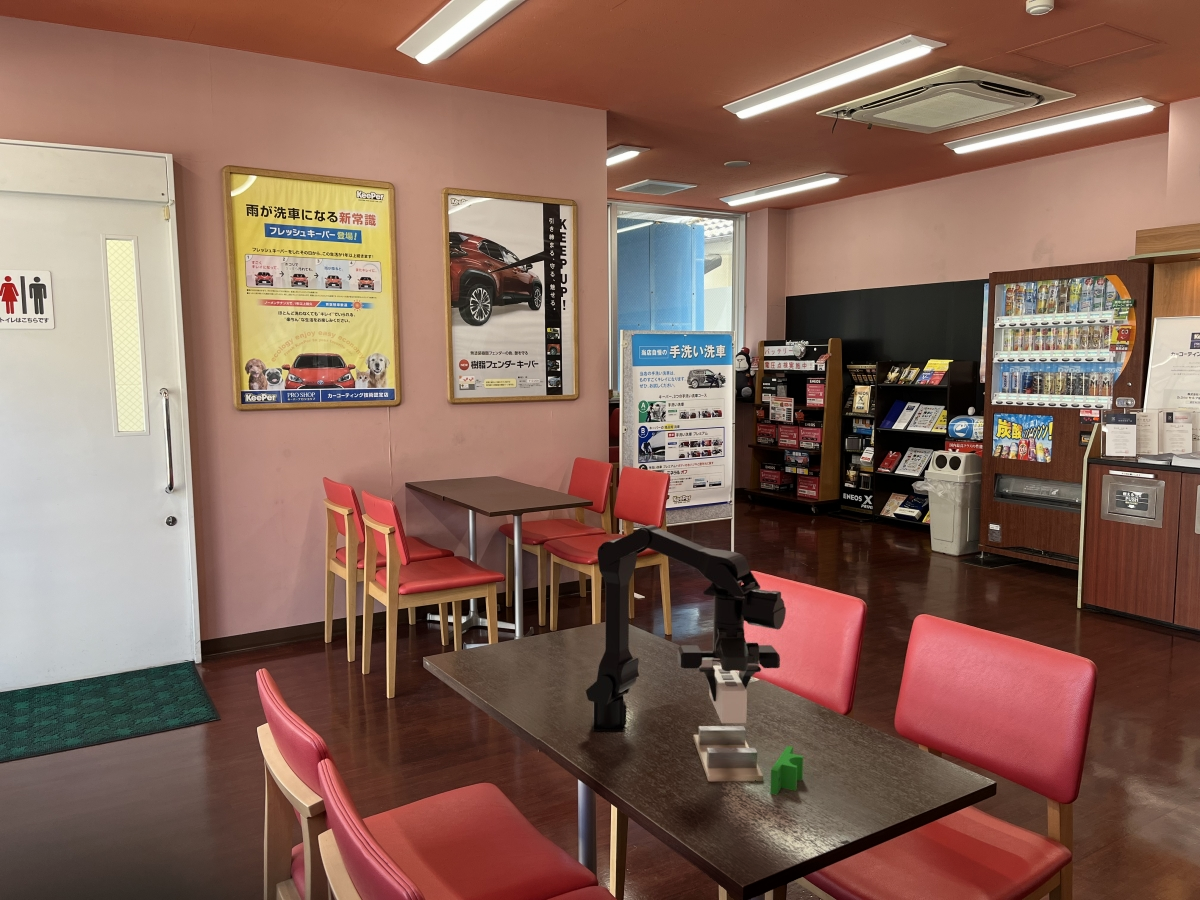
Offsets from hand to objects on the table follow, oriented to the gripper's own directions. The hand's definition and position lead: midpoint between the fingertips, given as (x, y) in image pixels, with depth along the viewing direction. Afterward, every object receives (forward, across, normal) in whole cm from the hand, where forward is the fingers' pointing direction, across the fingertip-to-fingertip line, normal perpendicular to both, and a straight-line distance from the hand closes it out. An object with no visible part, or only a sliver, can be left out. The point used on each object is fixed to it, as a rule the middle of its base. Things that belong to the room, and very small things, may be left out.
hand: (727, 700), depth 160 cm
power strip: (+2, 0, 0) cm, 2 cm away
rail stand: (+12, 0, 0) cm, 12 cm away
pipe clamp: (+12, +10, -9) cm, 18 cm away
